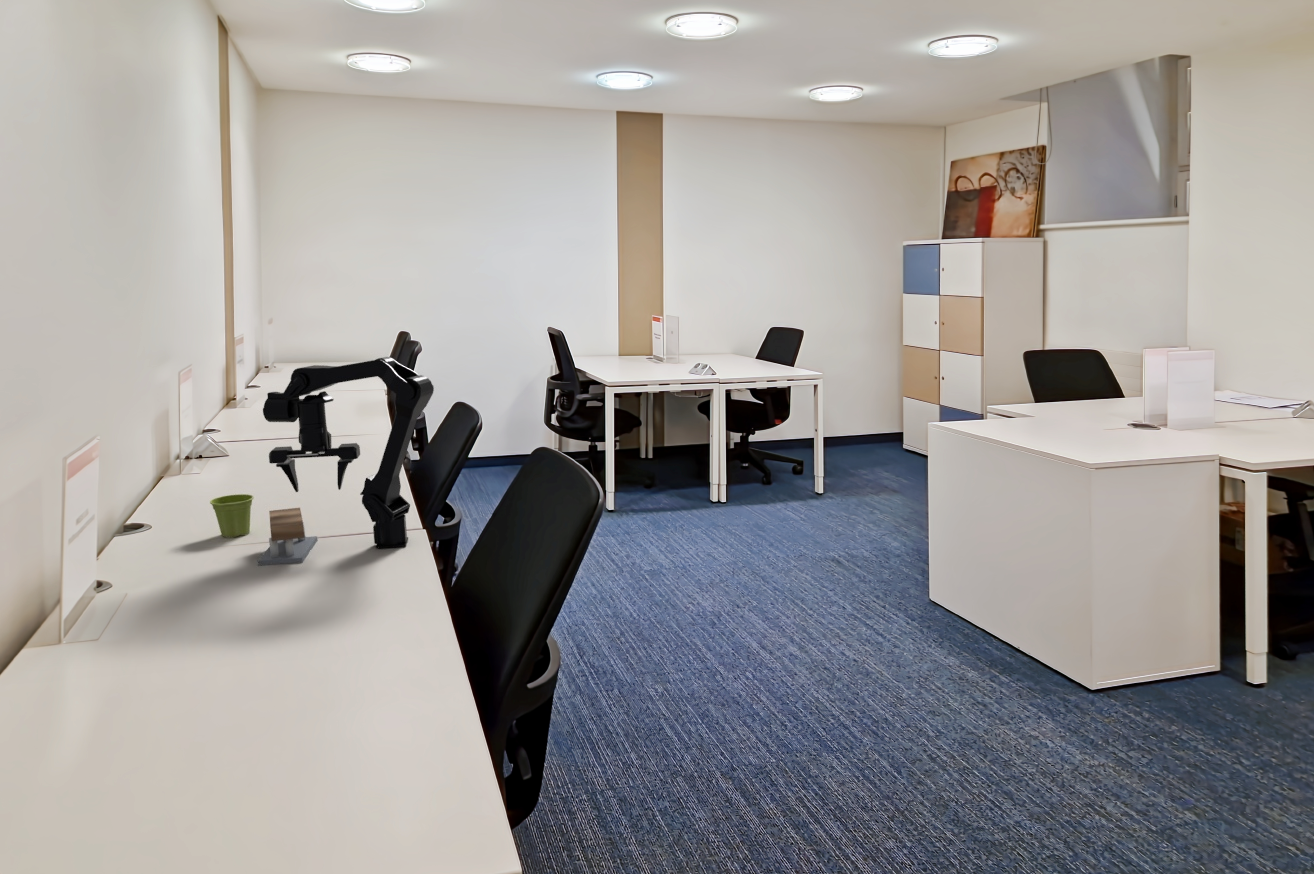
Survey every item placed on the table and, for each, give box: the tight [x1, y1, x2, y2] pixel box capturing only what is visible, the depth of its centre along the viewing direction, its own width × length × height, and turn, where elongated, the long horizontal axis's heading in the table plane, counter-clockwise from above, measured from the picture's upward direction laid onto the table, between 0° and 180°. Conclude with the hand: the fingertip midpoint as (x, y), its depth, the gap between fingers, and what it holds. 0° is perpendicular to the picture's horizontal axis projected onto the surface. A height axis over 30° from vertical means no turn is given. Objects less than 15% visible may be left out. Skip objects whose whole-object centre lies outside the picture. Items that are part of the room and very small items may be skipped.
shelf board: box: [269, 507, 306, 541], centre depth 207 cm, size 16×6×3 cm, turn 23°
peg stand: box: [257, 521, 318, 566], centre depth 208 cm, size 17×9×5 cm, turn 9°
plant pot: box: [209, 493, 254, 538], centre depth 224 cm, size 9×9×9 cm
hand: (318, 490), depth 214 cm, fingers open, 9 cm apart
